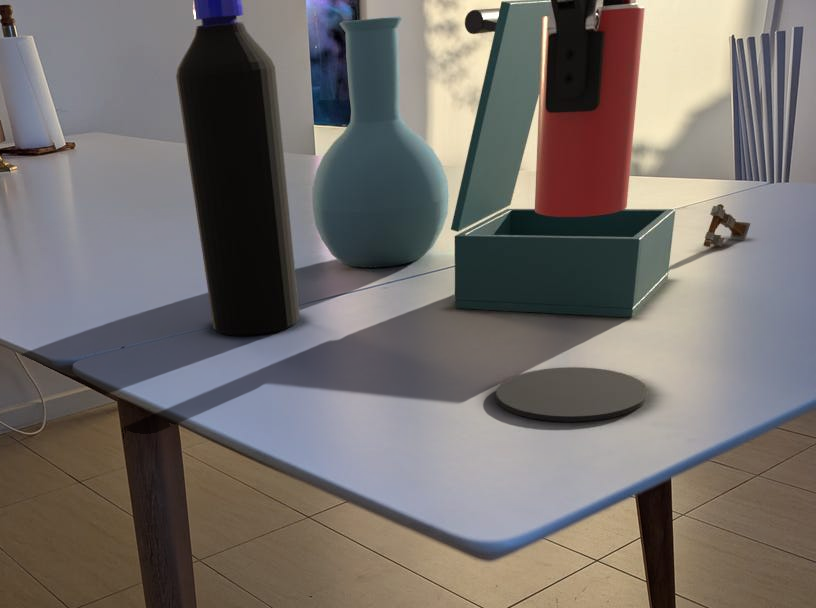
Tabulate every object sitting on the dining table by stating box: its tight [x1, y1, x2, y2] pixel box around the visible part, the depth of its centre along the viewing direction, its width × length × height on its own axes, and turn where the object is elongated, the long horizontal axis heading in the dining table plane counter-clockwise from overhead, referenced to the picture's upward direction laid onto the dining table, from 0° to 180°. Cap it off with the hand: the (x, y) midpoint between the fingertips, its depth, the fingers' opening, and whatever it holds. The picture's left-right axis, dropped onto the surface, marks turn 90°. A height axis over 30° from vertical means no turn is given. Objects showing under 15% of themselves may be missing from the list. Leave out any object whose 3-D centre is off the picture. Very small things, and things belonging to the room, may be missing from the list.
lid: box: [450, 0, 551, 233], centre depth 88 cm, size 18×15×5 cm
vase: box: [311, 15, 450, 268], centre depth 108 cm, size 16×16×25 cm
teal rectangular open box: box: [454, 208, 676, 319], centre depth 91 cm, size 18×15×7 cm
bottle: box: [175, 0, 300, 337], centre depth 85 cm, size 9×9×28 cm
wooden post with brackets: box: [702, 203, 751, 248], centre depth 106 cm, size 2×8×4 cm, turn 132°
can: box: [534, 2, 646, 217], centre depth 58 cm, size 6×6×11 cm
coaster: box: [495, 366, 649, 423], centre depth 68 cm, size 11×11×1 cm
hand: (588, 102), depth 58 cm, fingers closed on can, 6 cm apart
